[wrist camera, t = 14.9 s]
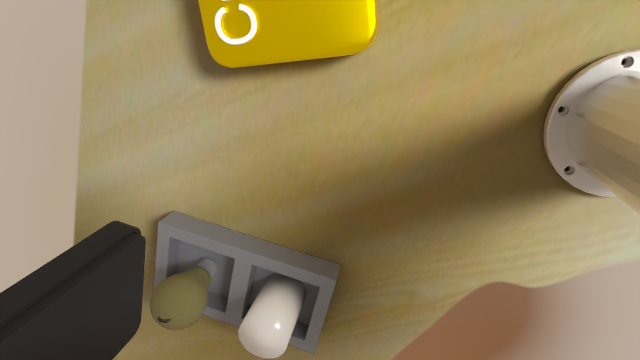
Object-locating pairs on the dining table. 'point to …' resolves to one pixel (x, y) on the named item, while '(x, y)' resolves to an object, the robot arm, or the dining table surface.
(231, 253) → the socket board
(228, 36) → the element tile
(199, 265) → the light bulb
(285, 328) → the white cylinder
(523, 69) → the dining table surface
